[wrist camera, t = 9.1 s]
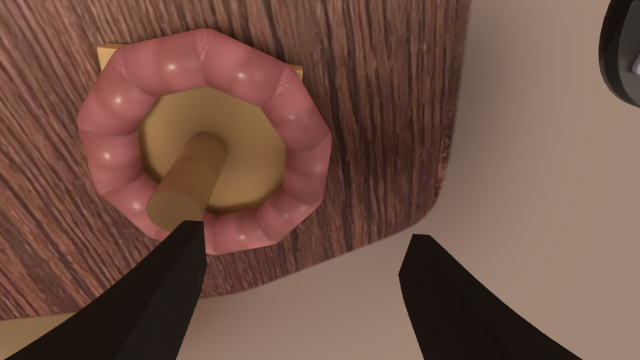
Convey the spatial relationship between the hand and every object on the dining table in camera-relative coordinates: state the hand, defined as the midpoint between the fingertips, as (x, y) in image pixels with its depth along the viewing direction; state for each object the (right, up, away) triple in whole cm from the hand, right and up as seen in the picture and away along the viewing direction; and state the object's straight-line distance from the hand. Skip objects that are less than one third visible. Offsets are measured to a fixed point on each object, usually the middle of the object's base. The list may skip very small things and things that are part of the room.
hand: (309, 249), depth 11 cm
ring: (-5, +3, +5) cm, 8 cm away
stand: (-6, +5, +7) cm, 10 cm away
